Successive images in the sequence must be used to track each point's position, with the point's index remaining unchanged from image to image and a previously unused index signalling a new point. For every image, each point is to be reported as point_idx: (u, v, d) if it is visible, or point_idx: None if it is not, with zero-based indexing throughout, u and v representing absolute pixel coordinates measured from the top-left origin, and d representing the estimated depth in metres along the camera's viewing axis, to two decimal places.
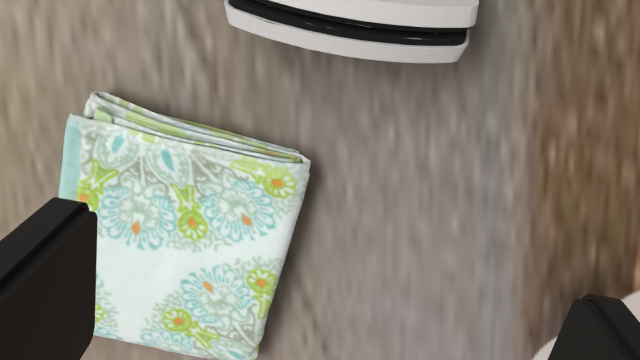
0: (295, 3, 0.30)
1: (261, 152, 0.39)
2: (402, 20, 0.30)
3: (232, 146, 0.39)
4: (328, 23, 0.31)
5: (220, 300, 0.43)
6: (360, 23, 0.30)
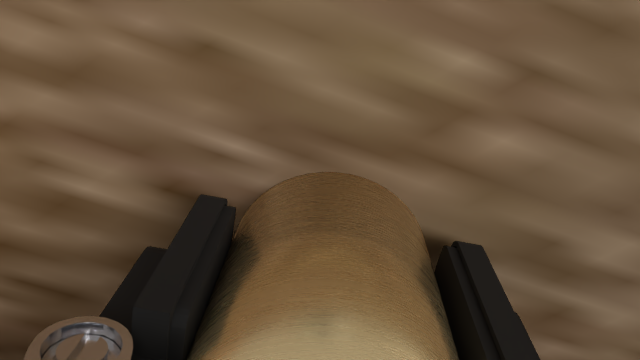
0: None
1: None
2: None
3: None
4: None
5: None
6: None
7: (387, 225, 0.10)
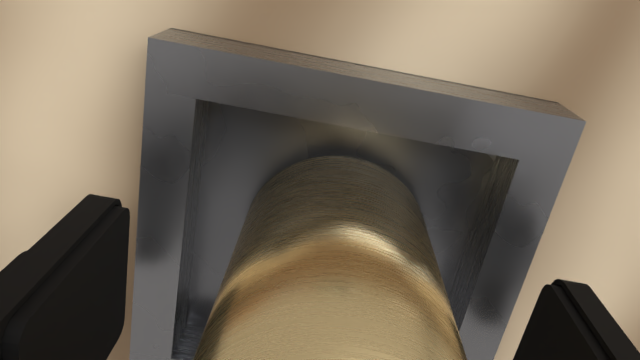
0: None
1: None
2: None
3: None
4: None
5: None
6: None
7: (389, 202, 0.11)
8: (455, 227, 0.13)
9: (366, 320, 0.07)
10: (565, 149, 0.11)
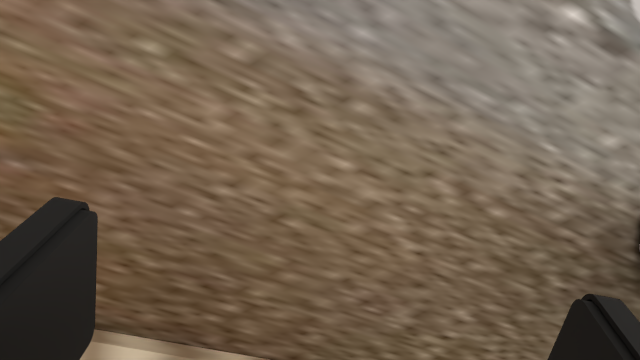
0: None
1: None
2: None
3: None
4: None
5: None
6: None
7: None
8: None
9: None
10: None
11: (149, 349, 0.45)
